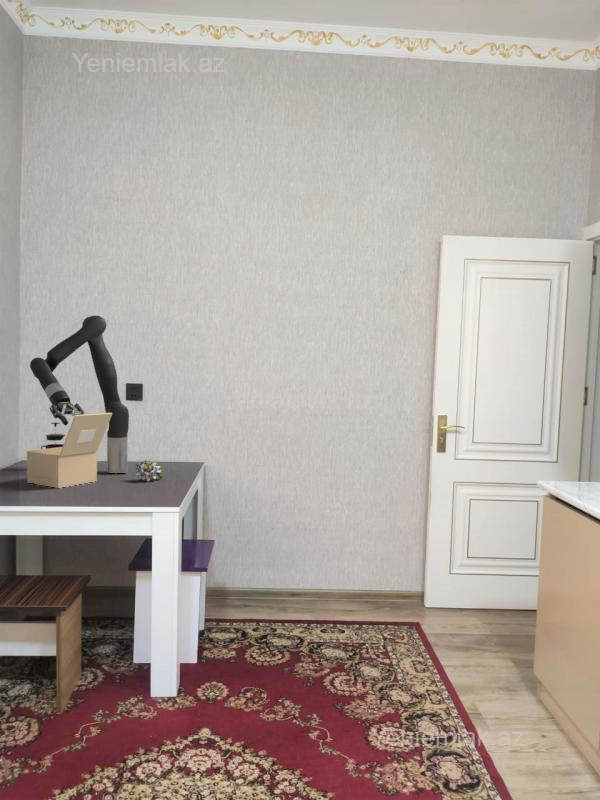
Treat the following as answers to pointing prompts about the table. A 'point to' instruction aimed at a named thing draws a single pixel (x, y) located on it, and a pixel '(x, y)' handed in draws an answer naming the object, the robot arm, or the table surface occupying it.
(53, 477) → the carton
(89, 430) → the carton flap
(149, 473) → the passion flower
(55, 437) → the french press
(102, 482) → the table surface
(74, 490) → the table surface
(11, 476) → the table surface
